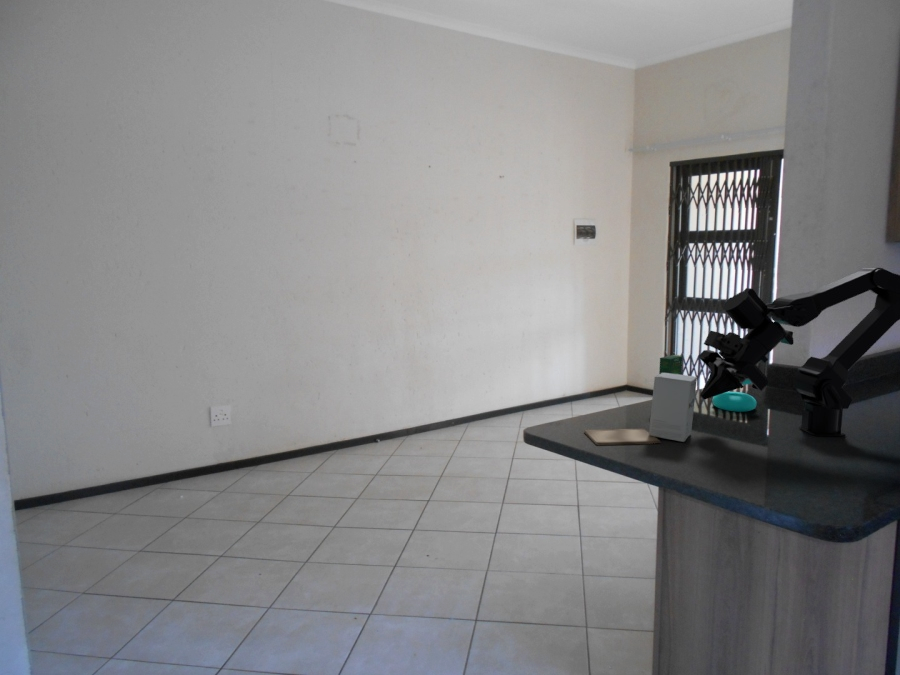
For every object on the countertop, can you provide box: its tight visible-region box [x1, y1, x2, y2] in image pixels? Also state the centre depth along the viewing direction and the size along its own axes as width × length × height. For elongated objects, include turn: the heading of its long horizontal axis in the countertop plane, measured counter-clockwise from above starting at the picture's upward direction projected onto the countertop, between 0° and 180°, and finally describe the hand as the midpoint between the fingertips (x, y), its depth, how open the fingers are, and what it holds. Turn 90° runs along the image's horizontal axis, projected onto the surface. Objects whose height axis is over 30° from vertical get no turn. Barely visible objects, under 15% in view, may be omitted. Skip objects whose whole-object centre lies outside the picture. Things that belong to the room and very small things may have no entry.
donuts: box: [712, 380, 758, 413], centre depth 151 cm, size 10×10×10 cm
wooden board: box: [583, 428, 661, 446], centre depth 127 cm, size 13×9×1 cm
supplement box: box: [648, 373, 698, 443], centre depth 126 cm, size 7×7×13 cm
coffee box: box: [658, 354, 684, 375], centre depth 151 cm, size 8×3×13 cm, turn 137°
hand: (702, 397), depth 127 cm, fingers closed
